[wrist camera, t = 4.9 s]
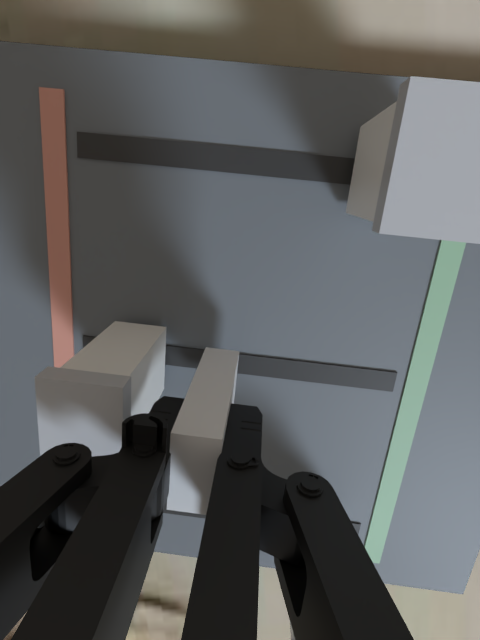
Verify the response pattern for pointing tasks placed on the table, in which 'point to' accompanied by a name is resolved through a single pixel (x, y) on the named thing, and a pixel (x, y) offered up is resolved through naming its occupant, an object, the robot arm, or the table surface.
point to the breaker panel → (244, 281)
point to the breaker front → (422, 163)
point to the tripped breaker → (101, 388)
